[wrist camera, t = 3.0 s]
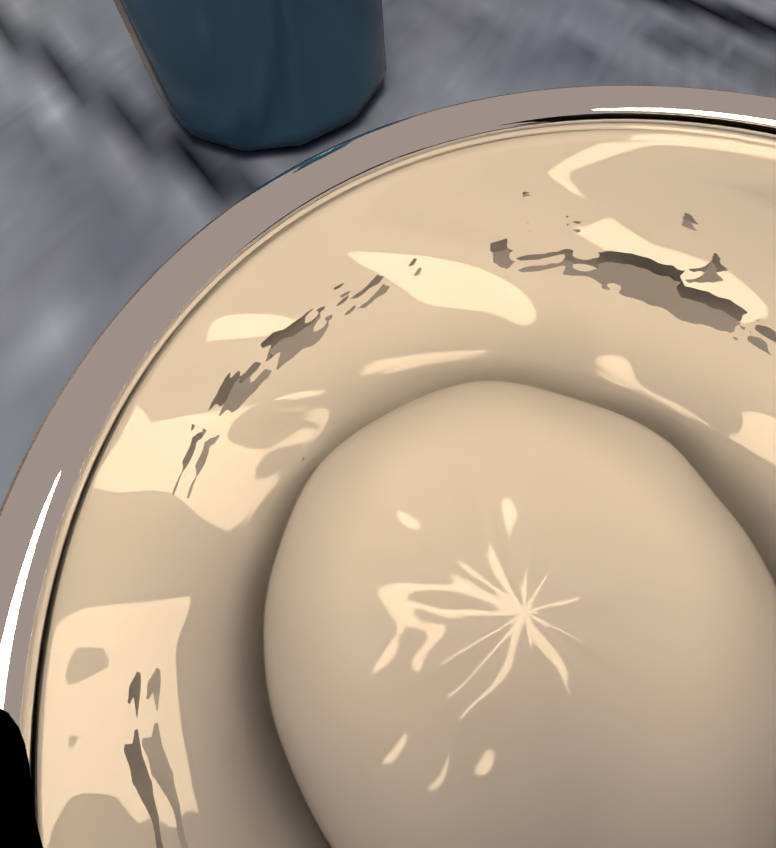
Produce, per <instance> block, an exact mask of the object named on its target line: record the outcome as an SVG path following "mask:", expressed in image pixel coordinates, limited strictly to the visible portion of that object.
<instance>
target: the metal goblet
mask: <svg viewBox="0 0 776 848" xmlns="http://www.w3.org/2000/svg"><path fill="white" fill-rule="evenodd" d="M0 848H776V98H774V97H767V96H761V95H754V94H747V93H739V92H731V91H723V90H713V89H704V88H691V87H676V86H654V85H598V86H577V87H564V88H552V89H543V90H534V91H526V92H519V93H512V94H506V95H499V96H493V97H488V98H483V99H478V100H473V101H468V102H464V103H460V104H455V105H451V106H447V107H443V108H440V109H436V110H432V111H428V112H425V113H422V114H418V115H415V116H412V117H408V118H405V119H402V120H399V121H396V122H393V123H390V124H387V125H385V126H382V127H379V128H377V129H374V130H371V131H369V132H366V133H364V134H361V135H359V136H357V137H354V138H352V139H349V140H347V141H345V142H343V143H340V144H338V145H336V146H334V147H332V148H329V149H327V150H325V151H323V152H321V153H319V154H317V155H315V156H313V157H311V158H309V159H307V160H305V161H303V162H302V163H300V164H298V165H296V166H294V167H292V168H291V169H289V170H287V171H285V172H284V173H282V174H280V175H278V176H277V177H275V178H273V179H272V180H270V181H268V182H267V183H265V184H264V185H262V186H261V187H259V188H257V189H256V190H254V191H253V192H251V193H250V194H248V195H247V196H245V197H244V198H243V199H241V200H240V201H238V202H237V203H235V204H234V205H233V206H231V207H230V208H228V209H227V210H226V211H224V212H223V213H222V214H221V215H219V216H218V217H217V218H215V219H214V220H213V221H211V222H210V223H209V224H208V225H206V226H205V227H204V228H203V229H201V230H200V231H199V232H198V233H196V234H195V235H194V236H193V237H192V238H190V239H189V240H188V241H187V242H186V243H185V244H184V245H183V246H181V247H180V248H179V249H178V250H177V251H176V252H175V253H174V254H173V255H172V256H171V257H169V258H168V259H167V260H166V261H165V262H164V263H163V264H162V265H161V266H160V267H159V268H158V269H157V270H156V271H155V272H154V273H153V274H152V275H151V276H150V277H149V278H148V279H147V280H146V281H145V282H144V283H143V284H142V286H141V287H140V288H139V289H138V290H137V291H136V292H135V293H134V294H133V295H132V297H131V298H130V299H129V300H128V301H127V302H126V303H125V304H124V306H123V307H122V308H121V309H120V310H119V312H118V313H117V314H116V315H115V316H114V318H113V319H112V320H111V321H110V322H109V324H108V325H107V326H106V327H105V329H104V330H103V331H102V332H101V334H100V335H99V336H98V338H97V339H96V340H95V341H94V343H93V344H92V345H91V347H90V348H89V349H88V351H87V352H86V354H85V355H84V357H83V358H82V359H81V361H80V362H79V364H78V365H77V367H76V368H75V369H74V371H73V372H72V374H71V376H70V377H69V379H68V380H67V382H66V383H65V385H64V386H63V388H62V389H61V391H60V393H59V394H58V396H57V397H56V399H55V401H54V403H53V404H52V406H51V408H50V409H49V411H48V413H47V415H46V416H45V418H44V420H43V422H42V423H41V425H40V427H39V429H38V431H37V433H36V435H35V437H34V438H33V440H32V442H31V444H30V446H29V448H28V450H27V452H26V454H25V456H24V458H23V460H22V462H21V464H20V466H19V468H18V470H17V472H16V474H15V476H14V478H13V481H12V483H11V485H10V488H9V490H8V492H7V495H6V497H5V499H4V502H3V504H2V506H1V509H0Z"/></svg>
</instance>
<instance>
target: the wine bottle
mask: <svg viewBox="0 0 776 848" xmlns="http://www.w3.org/2000/svg"><path fill="white" fill-rule="evenodd" d="M113 1H114V3H115V5H116V7H117V9H118V11H119V13H120V15H121V17H122V19H123V22H124V24H125V26H126V28H127V30H128V32H129V34H130V36H131V38H132V40H133V43H134V45H135V47H136V49H137V51H138V53H139V55H140V57H141V59H142V62H143V64H144V66H145V68H146V70H147V72H148V74H149V76H150V78H151V80H152V83H153V85H154V87H155V89H156V91H157V93H158V95H159V96H160V97H161V99H162V100H163V101H164V102H165V104H166V105H167V106H168V108H169V109H170V110H171V111H172V113H173V114H174V115H175V116H176V118H177V119H178V120H179V122H180V123H181V124H182V125H183V126H184V127H185V128H186V129H187V130H188V131H189V132H190V133H191V134H192V135H193V136H194V137H196V138H200V139H203V140H207V141H210V142H213V143H217V144H220V145H224V146H227V147H231V148H234V149H237V150H241V151H249V150H259V149H268V148H277V147H287V146H296V145H303V144H306V143H308V142H310V141H312V140H314V139H316V138H318V137H320V136H322V135H324V134H326V133H328V132H330V131H332V130H334V129H336V128H338V127H341V126H343V125H345V124H347V123H349V122H351V121H353V120H354V119H355V118H356V117H357V115H358V114H359V113H360V112H361V110H362V109H363V108H364V106H365V105H366V104H367V102H368V101H369V100H370V99H371V97H372V96H373V95H374V93H375V92H376V91H377V90H378V88H379V87H380V86H381V83H382V79H383V76H384V73H385V70H386V61H385V45H384V30H383V14H382V0H113Z"/></svg>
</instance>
